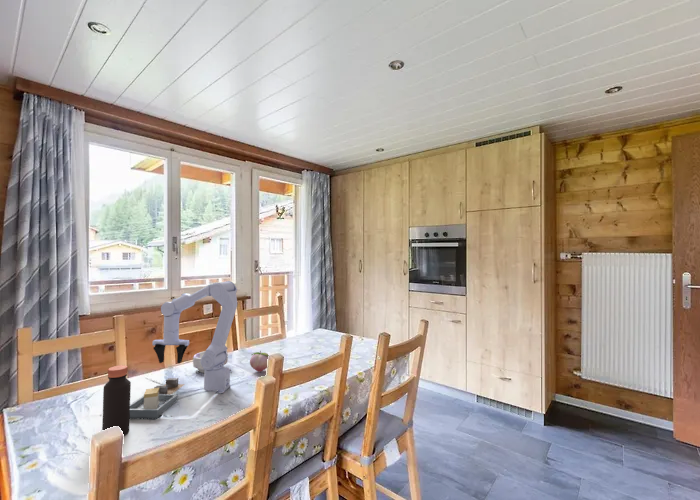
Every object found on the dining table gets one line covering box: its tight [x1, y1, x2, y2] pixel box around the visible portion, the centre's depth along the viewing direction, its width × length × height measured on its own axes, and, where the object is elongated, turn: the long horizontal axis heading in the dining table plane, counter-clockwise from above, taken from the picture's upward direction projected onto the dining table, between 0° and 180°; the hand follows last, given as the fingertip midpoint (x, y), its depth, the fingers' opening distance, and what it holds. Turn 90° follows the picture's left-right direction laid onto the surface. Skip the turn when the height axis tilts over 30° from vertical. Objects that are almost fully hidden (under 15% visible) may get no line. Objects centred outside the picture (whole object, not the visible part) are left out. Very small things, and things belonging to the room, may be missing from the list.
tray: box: [130, 393, 179, 420], centre depth 116 cm, size 12×13×3 cm
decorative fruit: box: [249, 350, 270, 373], centre depth 157 cm, size 9×8×10 cm
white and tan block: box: [143, 387, 160, 409], centre depth 117 cm, size 4×5×6 cm
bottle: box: [101, 364, 132, 437], centre depth 100 cm, size 7×7×20 cm
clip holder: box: [153, 377, 185, 394], centre depth 131 cm, size 8×13×4 cm, turn 0°
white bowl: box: [192, 350, 229, 374], centre depth 158 cm, size 15×15×8 cm
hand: (170, 362), depth 139 cm, fingers open, 7 cm apart
